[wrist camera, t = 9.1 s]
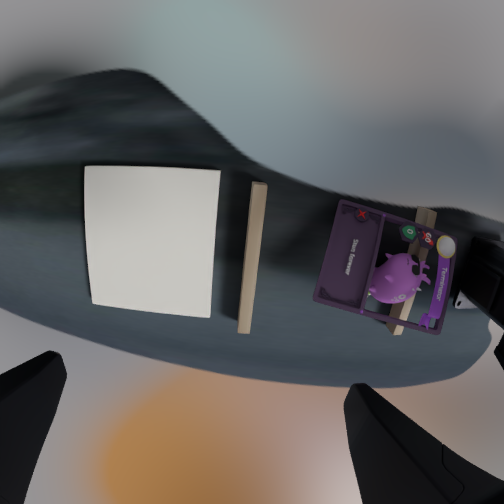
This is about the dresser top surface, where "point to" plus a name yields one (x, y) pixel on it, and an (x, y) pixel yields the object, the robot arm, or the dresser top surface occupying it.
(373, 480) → the robot arm
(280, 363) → the dresser top surface
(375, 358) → the dresser top surface
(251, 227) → the rails
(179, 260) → the pad
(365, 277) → the game card
